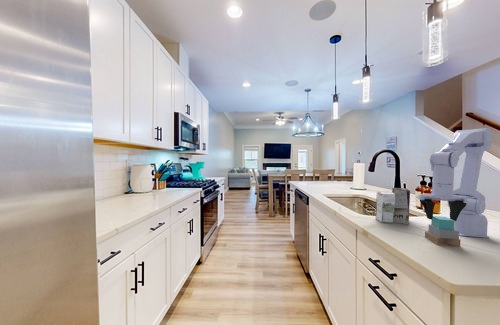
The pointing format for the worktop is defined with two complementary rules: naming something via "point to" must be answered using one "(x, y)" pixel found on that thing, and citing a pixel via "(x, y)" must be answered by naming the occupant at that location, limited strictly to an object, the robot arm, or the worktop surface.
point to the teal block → (443, 222)
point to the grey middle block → (443, 232)
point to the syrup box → (385, 207)
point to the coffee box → (401, 205)
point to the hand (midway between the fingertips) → (441, 219)
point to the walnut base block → (442, 240)
